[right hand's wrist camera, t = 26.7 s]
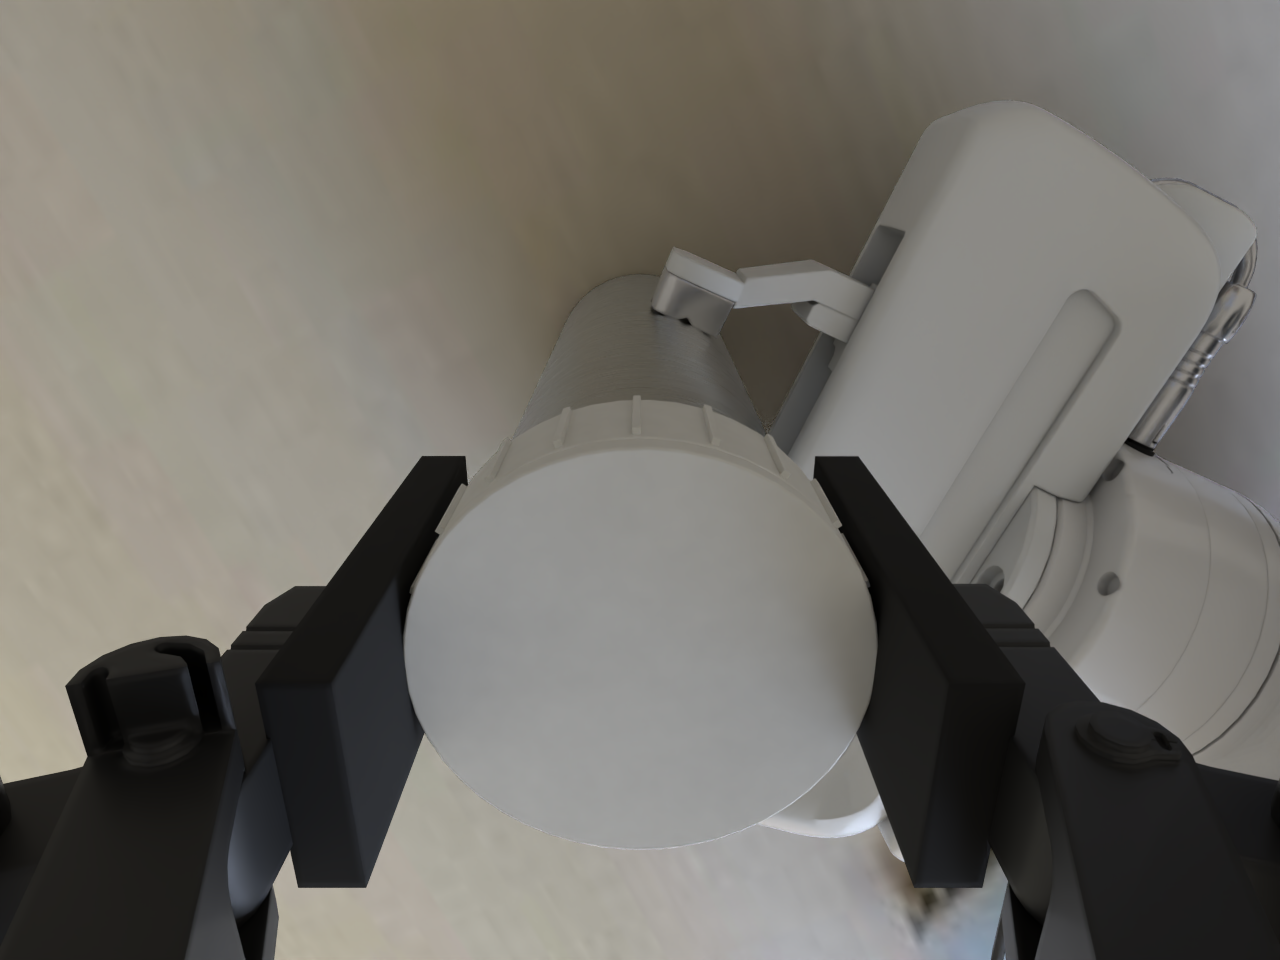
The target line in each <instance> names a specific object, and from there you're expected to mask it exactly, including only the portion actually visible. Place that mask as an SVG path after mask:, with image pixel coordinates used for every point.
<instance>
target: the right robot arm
mask: <svg viewBox="0 0 1280 960" xmlns="http://www.w3.org/2000/svg"><path fill="white" fill-rule="evenodd" d="M813 479H816V480H817V481H818V483H819V484H820V486H821V488H822V490H823V492H824V493H825V495H826V497H827V499H828V501H829V502H830V504H831V506H832V508H833V510H834V511H835V513H836V515H837V517H838V519H839V520H840V522H841V524H842V526H841V527H839V528H838V529H839V531H840V533H843V534H844V536H845V538H846V540H847V542H848V543H849V545H850V547H851V549H852V551H853V553H854V554H855V556H856V558H857V560H858V562H859V564H860V565H861V567H862V569H863V571H864V573H865V575H866V576H867V578H868V580H869V583H870V587H868V591H869V593H870V596H871V599H872V604H873V608H874V613H875V617H876V622H877V633H878V648H877V657H876V665H875V673H874V681H873V688H872V695H871V699H870V703H869V705H868V708H867V710H866V712H865V715H864V717H863V720H862V722H861V725H860V727H859V729H858V730H857V732H856V734H857V737H858V739H859V742H860V745H861V747H862V750H863V753H864V755H865V758H866V761H867V763H868V766H869V769H870V771H871V774H872V777H873V779H874V782H875V785H876V787H877V790H878V793H879V795H880V798H881V801H882V803H883V806H884V809H885V811H886V814H887V816H888V819H889V822H890V824H891V827H892V830H893V832H894V835H895V838H896V840H897V843H898V846H899V848H900V851H901V854H902V856H903V859H904V862H905V864H906V867H907V870H908V872H909V875H910V878H911V880H912V883H913V886H914V888H982V887H983V882H984V877H985V873H986V868H987V863H988V858H989V854H990V849H991V848H992V850H993V852H994V854H995V856H996V858H997V860H998V862H999V864H1000V866H1001V868H1002V870H1003V872H1004V874H1005V876H1006V878H1007V879H1008V884H1007V889H1006V893H1005V898H1004V902H1003V906H1002V911H1001V915H1000V920H999V924H998V928H997V933H996V937H995V941H994V946H993V950H992V957H991V960H1003V959H1004V955H1005V953H1006V960H1280V779H1279V781H1278V780H1273V779H1268V778H1263V777H1258V776H1254V775H1249V774H1244V773H1239V772H1234V771H1229V770H1224V769H1220V768H1215V767H1210V766H1206V765H1203V764H1199V763H1196V762H1195V760H1194V757H1193V755H1192V754H1191V753H1190V752H1189V750H1188V749H1187V748H1186V746H1185V745H1184V744H1183V742H1182V741H1181V740H1180V738H1178V737H1177V736H1176V735H1174V734H1173V733H1172V732H1170V731H1169V730H1168V729H1166V728H1165V727H1164V726H1162V725H1161V724H1159V723H1158V722H1156V721H1154V720H1152V719H1150V718H1148V717H1146V716H1143V715H1141V714H1139V713H1137V712H1135V711H1133V710H1130V709H1127V708H1123V707H1119V706H1115V705H1112V704H1108V703H1104V702H1100V700H1099V699H1098V698H1097V697H1096V696H1095V695H1094V693H1093V692H1092V691H1091V690H1090V689H1089V688H1088V686H1087V685H1086V684H1085V683H1084V682H1083V680H1082V679H1081V678H1080V677H1079V676H1078V675H1077V673H1076V672H1075V671H1074V670H1073V669H1072V668H1071V666H1070V665H1069V664H1068V663H1067V662H1066V660H1065V659H1064V658H1063V657H1062V656H1061V655H1060V653H1059V652H1058V651H1057V650H1056V649H1055V647H1050V642H1049V640H1048V639H1047V638H1046V637H1045V636H1044V635H1043V633H1042V632H1041V631H1040V630H1039V629H1035V624H1034V623H1033V622H1032V620H1031V619H1030V618H1029V617H1028V616H1027V615H1026V613H1025V612H1024V611H1023V610H1022V609H1021V607H1020V606H1019V605H1018V604H1017V603H1016V602H1015V601H1013V600H1011V599H1010V598H1008V597H1007V596H1005V595H1003V594H1002V593H1000V592H998V591H997V590H995V589H994V588H992V587H990V586H989V585H987V584H952V583H951V581H950V580H949V579H948V577H947V576H946V574H945V573H944V572H943V570H942V569H941V568H940V566H939V565H938V564H937V562H936V561H935V560H934V558H933V557H932V555H931V554H930V553H929V551H928V550H927V549H926V547H925V546H924V545H923V543H922V542H921V540H920V539H919V538H918V536H917V535H916V534H915V532H914V531H913V530H912V528H911V527H910V526H909V524H908V523H907V521H906V520H905V519H904V517H903V516H902V515H901V513H900V512H899V511H898V509H897V508H896V507H895V505H894V504H893V502H892V501H891V500H890V498H889V497H888V496H887V494H886V493H885V492H884V490H883V489H882V488H881V486H880V485H879V483H878V482H877V481H876V479H875V478H874V477H873V475H872V474H871V473H870V471H869V470H868V469H867V467H866V466H865V464H864V463H863V462H862V460H861V459H860V458H859V456H815V463H814V475H813ZM461 484H464V485H465V486H468V481H467V470H466V458H465V456H422V457H421V458H420V460H419V461H418V462H417V464H416V465H415V466H414V468H413V469H412V470H411V472H410V473H409V475H408V476H407V477H406V479H405V480H404V481H403V483H402V484H401V485H400V487H399V488H398V489H397V491H396V492H395V494H394V495H393V496H392V498H391V499H390V500H389V502H388V503H387V504H386V506H385V507H384V508H383V510H382V511H381V513H380V514H379V515H378V517H377V518H376V519H375V521H374V522H373V523H372V525H371V526H370V528H369V529H368V530H367V532H366V533H365V534H364V536H363V537H362V538H361V540H360V541H359V542H358V544H357V545H356V547H355V548H354V549H353V551H352V552H351V553H350V555H349V556H348V557H347V559H346V560H345V561H344V563H343V564H342V566H341V567H340V568H339V570H338V571H337V572H336V574H335V575H334V576H333V578H332V579H331V581H330V582H329V583H328V585H327V586H295V587H293V588H292V589H290V590H288V591H287V592H285V593H283V594H282V595H280V596H279V597H277V598H275V599H274V600H272V601H271V602H269V603H267V604H266V605H264V607H263V608H262V609H261V610H260V611H259V613H258V614H257V615H256V616H255V617H254V618H253V620H252V621H251V622H250V623H249V624H248V626H247V627H246V631H242V633H241V634H240V635H239V636H238V637H237V639H236V640H235V641H234V642H233V643H232V645H231V650H226V652H225V653H224V654H223V655H222V656H221V657H220V652H219V648H218V647H216V646H215V645H214V644H212V643H211V642H209V641H208V640H207V639H202V638H196V637H191V636H171V637H159V638H154V639H150V640H146V641H141V642H137V643H133V644H130V645H127V646H125V647H122V648H120V649H117V650H115V651H112V652H110V653H107V654H105V655H103V656H101V657H99V658H98V659H96V660H95V661H93V662H92V663H90V664H88V665H87V666H85V667H84V668H82V669H81V670H79V671H78V672H77V674H76V675H75V676H74V677H73V678H72V679H71V680H70V681H69V682H68V684H67V685H66V686H65V687H66V690H67V693H68V696H69V699H70V703H71V706H72V709H73V712H74V715H75V718H76V721H77V725H78V728H79V731H80V734H81V737H82V740H83V744H84V747H85V750H86V753H87V756H88V757H87V759H86V761H85V763H84V766H83V767H80V768H76V769H72V770H68V771H63V772H58V773H54V774H49V775H44V776H39V777H34V778H29V779H25V780H20V781H15V782H10V783H5V784H3V782H2V780H1V777H0V960H274V956H275V946H276V937H277V928H278V919H279V916H278V909H277V903H276V898H275V893H274V889H273V883H274V881H275V879H276V877H277V875H278V873H279V871H280V869H281V867H282V865H283V863H284V861H285V859H286V857H287V855H288V853H289V851H291V856H292V861H293V866H294V870H295V875H296V880H297V884H298V888H366V887H367V884H368V881H369V879H370V876H371V873H372V871H373V868H374V865H375V863H376V860H377V858H378V855H379V852H380V850H381V847H382V844H383V842H384V839H385V836H386V834H387V831H388V828H389V826H390V823H391V820H392V818H393V815H394V812H395V810H396V807H397V804H398V802H399V799H400V796H401V794H402V791H403V788H404V786H405V783H406V780H407V778H408V775H409V772H410V770H411V767H412V764H413V762H414V759H415V756H416V754H417V751H418V749H419V746H420V743H421V741H422V738H423V735H424V733H425V732H424V730H423V728H422V726H421V724H420V722H419V720H418V718H417V716H416V713H415V710H414V707H413V704H412V701H411V698H410V695H409V691H408V684H407V677H406V669H405V661H404V652H403V632H404V625H405V619H406V612H407V607H408V604H409V601H410V598H411V594H410V593H409V592H410V588H411V585H412V584H413V582H414V580H415V578H416V576H417V574H418V572H419V571H420V569H421V567H422V565H423V563H424V561H425V559H426V558H427V556H428V554H429V552H430V550H431V548H432V546H433V545H434V543H435V541H436V539H438V537H439V535H440V534H438V533H436V532H435V530H436V528H437V527H438V525H439V523H440V521H441V519H442V518H443V516H444V514H445V512H446V510H447V509H448V507H449V505H450V503H451V501H452V499H453V498H454V496H455V494H456V492H457V490H458V489H459V487H460V486H461Z"/></svg>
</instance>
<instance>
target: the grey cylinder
mask: <svg viewBox="0 0 1280 960" xmlns="http://www.w3.org/2000/svg"><path fill="white" fill-rule="evenodd" d="M659 279H660V277H659V276H654V275H645V274H636V275H626V276H622V277H617V278H615V279H612V280H609V281H607V282H605V283H603V284H601V285H599V286H597V287H596V288H594V289H593V290H591V291H590V292H589V293H588V294H586V295H585V296H584V297H583V298H582V299H581V300H580V301H579V303H578V304H577V305H576V306H575V307H574V309H573V310H572V312H571V314H570V315H569V317H568V319H567V321H566V323H565V325H564V328H563V330H562V332H561V334H560V336H559V338H558V341H557V343H556V345H555V347H554V349H553V352H552V354H551V356H550V358H549V360H548V362H547V365H546V367H545V369H544V371H543V373H542V375H541V378H540V380H539V382H538V384H537V386H536V389H535V391H534V393H533V395H532V397H531V399H530V402H529V404H528V406H527V408H526V410H525V412H524V415H523V417H522V419H521V421H520V423H519V426H518V428H517V430H516V432H515V434H514V436H513V439H514V438H516V437H518V436H519V435H521V434H522V433H524V432H526V431H527V430H529V429H531V428H532V427H534V426H536V425H537V424H540V423H542V422H544V421H546V420H549V419H551V418H553V417H556V416H558V415H560V414H561V413H562V410H563V408H566V407H570V408H571V410H576V409H579V408H583V407H586V406H589V405H595V404H601V403H607V402H614V401H623V400H633V396H639V395H640V396H641V400H656V401H666V402H676V403H681V404H686V405H690V406H694V407H699V408H703V406H704V404H705V405H708V406H711V407H712V411H713V412H715V413H718V414H720V415H723V416H726V417H728V418H731V419H733V420H735V421H737V422H739V423H741V424H743V425H745V426H747V427H748V428H750V429H752V430H754V431H756V432H758V433H759V434H760V435H762V436H763V437H765V435H766V432H765V430H764V428H763V426H762V424H761V422H760V419H759V417H758V415H757V413H756V411H755V409H754V406H753V404H752V402H751V400H750V398H749V395H748V393H747V391H746V389H745V387H744V385H743V382H742V380H741V378H740V376H739V374H738V372H737V369H736V367H735V365H734V363H733V361H732V359H731V356H730V354H729V352H728V350H727V348H726V346H725V343H724V341H723V339H722V337H721V335H720V333H719V335H718V337H717V338H716V337H714V336H712V335H709V334H707V333H705V332H702V331H700V330H699V329H697V328H696V327H694V326H692V325H691V323H690V322H689V320H688V318H683V319H675V318H672V317H669V316H666V315H664V314H662V313H660V312H658V311H656V310H655V309H653V308H652V307H651V298H652V296H653V293H654V291H655V289H656V286H657V284H658V281H659ZM513 439H512V440H513Z"/></svg>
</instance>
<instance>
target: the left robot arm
mask: <svg viewBox="0 0 1280 960" xmlns="http://www.w3.org/2000/svg"><path fill="white" fill-rule="evenodd" d="M1256 235H1257V228H1256V226H1255V224H1254V223H1253V221H1252V220H1251V219H1250V218H1249V217H1248V215H1246V214H1245V213H1244V212H1243V211H1241V210H1240V209H1239V208H1238V207H1237V206H1235V205H1234V204H1232V203H1230V202H1228V201H1226V200H1224V199H1222V198H1220V197H1218V196H1216V195H1214V194H1212V193H1210V192H1209V191H1207V190H1205V189H1203V188H1201V187H1199V186H1197V185H1195V184H1193V183H1191V182H1189V181H1185V180H1182V179H1175V178H1159V179H1152V180H1149V179H1148V178H1147V177H1145V176H1144V175H1143V174H1141V173H1140V172H1139V171H1138V170H1136V169H1135V168H1134V167H1132V166H1131V165H1130V164H1128V163H1127V162H1126V161H1124V160H1123V159H1122V158H1120V157H1119V156H1117V155H1116V154H1115V153H1113V152H1112V151H1110V150H1109V149H1107V148H1106V147H1104V146H1103V145H1102V144H1100V143H1099V142H1097V141H1096V140H1094V139H1093V138H1091V137H1090V136H1088V135H1087V134H1085V133H1084V132H1082V131H1080V130H1079V129H1077V128H1076V127H1074V126H1072V125H1071V124H1069V123H1067V122H1066V121H1064V120H1062V119H1061V118H1059V117H1057V116H1056V115H1054V114H1052V113H1050V112H1048V111H1046V110H1045V109H1042V108H1040V107H1038V106H1036V105H1034V104H1031V103H1027V102H1021V101H1009V100H1002V101H992V102H987V103H982V104H978V105H975V106H972V107H968V108H965V109H963V110H960V111H957V112H954V113H952V114H949V115H947V116H944V117H941V118H939V119H937V120H935V121H934V122H932V123H931V124H930V125H929V126H928V127H927V128H926V129H925V131H924V132H923V134H922V136H921V138H920V140H919V141H918V143H917V145H916V147H915V149H914V151H913V153H912V155H911V157H910V159H909V161H908V163H907V165H906V167H905V169H904V170H903V172H902V174H901V176H900V178H899V180H898V182H897V184H896V186H895V188H894V190H893V192H892V194H891V196H890V198H889V200H888V201H887V203H886V205H885V207H884V209H883V211H882V213H881V215H880V217H879V219H878V221H877V223H876V225H875V227H874V229H873V231H872V232H871V234H870V236H869V238H868V240H867V242H866V244H865V246H864V248H863V250H862V252H861V254H860V256H859V258H858V260H857V262H856V263H855V265H854V267H853V269H852V271H851V273H850V275H849V276H848V275H846V274H843V273H841V272H839V271H837V270H835V269H832V268H830V267H828V266H826V265H823V264H821V263H819V262H817V261H815V260H812V259H811V260H803V261H795V262H787V263H780V264H772V265H764V266H756V267H748V268H740V269H738V270H737V272H736V273H734V272H732V271H730V270H728V269H725V268H723V267H721V266H719V265H717V264H714V263H712V262H710V261H708V260H705V259H703V258H701V257H699V256H697V255H694V254H692V253H690V252H688V251H685V250H682V249H679V248H676V247H673V248H672V250H671V253H670V255H669V258H668V260H667V262H666V265H665V266H664V269H663V271H662V274H661V276H660V279H659V281H658V284H657V286H656V289H655V291H654V293H653V296H652V298H651V307H652V308H653V309H655V310H656V311H658V312H660V313H662V314H664V315H666V316H669V317H672V318H675V319H683V318H688V320H689V322H690V323H691V325H692V326H694V327H696V328H697V329H699V330H700V331H702V332H705V333H707V334H709V335H712V336H714V337H716V338H717V337H718V335H719V333H720V331H721V329H722V327H723V325H724V323H725V321H726V319H727V317H728V315H729V313H730V311H731V309H732V307H733V308H734V309H735V308H745V307H755V306H764V305H774V304H784V303H792V304H791V306H792V310H793V311H794V312H795V313H796V314H797V315H798V316H799V317H800V318H801V319H802V320H803V321H804V322H805V323H806V324H807V325H808V326H810V327H813V328H815V329H817V330H819V331H820V333H819V335H818V337H817V339H816V341H815V343H814V345H813V347H812V349H811V351H810V353H809V354H808V356H807V358H806V360H805V362H804V364H803V366H802V368H801V370H800V372H799V374H798V376H797V378H796V380H795V382H794V384H793V385H792V387H791V389H790V391H789V393H788V395H787V397H786V399H785V401H784V403H783V405H782V407H781V409H780V411H779V413H778V415H777V416H776V418H775V420H774V422H773V424H772V426H771V428H770V430H769V432H768V434H769V435H771V436H772V437H773V438H774V440H775V442H776V444H777V446H778V447H779V448H780V449H781V450H782V451H783V452H784V453H785V454H786V455H787V456H788V457H789V458H790V459H791V460H792V461H794V462H795V463H796V464H797V465H798V466H799V468H800V469H801V470H802V471H803V473H804V474H805V475H806V476H807V478H808V479H809V480H810V481H812V480H813V475H814V463H815V456H859V458H860V459H861V460H862V462H863V463H864V464H865V466H866V467H867V469H868V470H869V471H870V473H871V474H872V475H873V477H874V478H875V479H876V481H877V482H878V483H879V485H880V486H881V488H882V489H883V490H884V492H885V493H886V494H887V496H888V497H889V498H890V500H891V501H892V502H893V504H894V505H895V507H896V508H897V509H898V511H899V512H900V513H901V515H902V516H903V517H904V519H905V520H906V521H907V523H908V524H909V526H910V527H911V528H912V530H913V531H914V532H915V534H916V535H917V536H918V538H919V539H920V540H921V542H922V543H923V545H924V546H925V547H926V549H927V550H928V551H929V553H930V554H931V555H932V557H933V558H934V560H935V561H936V562H937V564H938V565H939V566H940V568H941V569H942V570H943V572H944V573H945V574H946V576H947V577H948V579H949V580H950V581H951V583H952V584H987V585H989V586H990V587H992V588H994V589H995V590H997V591H998V592H1000V593H1002V594H1003V595H1005V596H1007V597H1008V598H1010V599H1011V600H1013V601H1015V602H1016V603H1017V604H1018V605H1019V606H1020V607H1021V609H1022V610H1023V611H1024V612H1025V613H1026V615H1027V616H1028V617H1029V618H1030V619H1031V620H1032V622H1033V623H1034V624H1035V629H1039V630H1040V631H1041V632H1042V633H1043V635H1044V636H1045V637H1046V638H1047V639H1048V640H1049V642H1050V647H1055V649H1056V650H1057V651H1058V652H1059V653H1060V655H1061V656H1062V657H1063V658H1064V659H1065V660H1066V662H1067V663H1068V664H1069V665H1070V666H1071V668H1072V669H1073V670H1074V671H1075V672H1076V673H1077V675H1078V676H1079V677H1080V678H1081V679H1082V680H1083V682H1084V683H1085V684H1086V685H1087V686H1088V688H1089V689H1090V690H1091V691H1092V692H1093V693H1094V695H1095V696H1096V697H1097V698H1098V699H1099V700H1100V702H1104V703H1108V704H1112V705H1115V706H1119V707H1123V708H1127V709H1130V710H1133V711H1135V712H1137V713H1139V714H1141V715H1143V716H1146V717H1148V718H1150V719H1152V720H1154V721H1156V722H1158V723H1159V724H1161V725H1162V726H1164V727H1165V728H1166V729H1168V730H1169V731H1170V732H1172V733H1173V734H1174V735H1176V736H1177V737H1178V738H1180V740H1181V741H1182V742H1183V744H1184V745H1185V746H1186V748H1187V749H1188V750H1189V752H1190V753H1191V754H1192V755H1193V757H1194V760H1195V762H1196V763H1199V764H1203V765H1206V766H1210V767H1215V768H1220V769H1224V770H1229V771H1234V772H1239V773H1244V774H1249V775H1254V776H1258V777H1263V778H1268V779H1273V780H1278V781H1279V779H1280V523H1279V522H1278V521H1277V520H1276V519H1275V518H1274V517H1272V516H1271V515H1270V514H1269V513H1268V512H1267V511H1266V510H1264V509H1263V508H1262V507H1261V506H1260V505H1258V504H1256V503H1255V502H1253V501H1252V500H1250V499H1248V498H1247V497H1245V496H1244V495H1242V494H1240V493H1239V492H1236V491H1234V490H1232V489H1230V488H1227V487H1225V486H1223V485H1220V484H1218V483H1216V482H1214V481H1212V480H1210V479H1207V478H1205V477H1203V476H1201V475H1199V474H1196V473H1194V472H1192V471H1190V470H1187V469H1185V468H1183V467H1181V466H1179V465H1176V464H1174V463H1172V462H1170V461H1168V460H1165V459H1163V458H1161V457H1159V456H1157V455H1155V453H1154V452H1152V451H1153V450H1154V449H1155V447H1156V446H1157V444H1158V443H1159V442H1160V440H1161V439H1162V437H1163V436H1164V435H1165V433H1166V432H1167V430H1168V429H1169V427H1170V426H1171V425H1172V423H1173V422H1174V420H1175V419H1176V418H1177V416H1178V415H1179V413H1180V412H1181V410H1182V409H1183V408H1184V406H1185V405H1186V403H1187V402H1188V400H1189V398H1190V397H1191V395H1192V394H1193V392H1194V390H1193V388H1196V386H1197V384H1198V382H1199V380H1198V378H1201V377H1202V375H1203V373H1204V372H1205V370H1204V368H1207V367H1208V365H1209V364H1210V362H1211V358H1214V357H1215V355H1216V354H1217V352H1218V351H1219V350H1220V348H1221V347H1222V345H1223V344H1224V343H1225V344H1227V343H1228V342H1229V341H1230V340H1231V339H1232V338H1233V337H1234V335H1235V334H1236V333H1237V332H1238V330H1239V329H1240V327H1241V326H1242V324H1243V323H1244V321H1245V320H1246V318H1247V316H1248V314H1249V312H1250V310H1251V308H1252V306H1253V304H1254V302H1255V299H1256V293H1255V292H1254V291H1252V290H1250V289H1248V288H1247V287H1248V285H1249V283H1250V281H1251V278H1252V276H1253V273H1254V270H1255V266H1256V260H1257V240H1256ZM1233 271H1234V272H1233ZM1232 273H1233V275H1232V277H1231V280H1230V281H1227V280H1228V279H1229V277H1230V276H1231V274H1232ZM758 824H759V825H762V826H766V827H770V828H774V829H778V830H782V831H786V832H790V833H795V834H799V835H805V836H811V837H820V838H838V837H846V836H851V835H855V834H858V833H861V832H864V831H866V830H868V829H870V828H872V827H874V826H875V825H877V826H878V828H879V830H880V832H881V834H882V836H883V838H884V840H885V842H886V844H887V846H888V847H889V849H890V851H891V853H892V854H893V855H894V856H895V857H896V858H898V859H899V860H901V861H903V862H904V859H903V856H902V854H901V851H900V848H899V846H898V843H897V840H896V838H895V835H894V832H893V830H892V827H891V824H890V822H889V819H888V816H887V814H886V811H885V809H884V806H883V803H882V801H881V798H880V795H879V793H878V790H877V787H876V785H875V782H874V779H873V777H872V774H871V771H870V769H869V766H868V763H867V761H866V758H865V755H864V753H863V750H862V747H861V745H860V742H859V739H858V737H857V734H855V736H854V737H853V739H852V741H851V742H850V744H849V746H848V747H847V749H846V751H845V752H844V753H843V754H842V756H841V757H840V758H839V759H838V761H837V762H836V763H835V764H834V766H833V767H832V768H831V770H830V771H829V772H828V773H827V774H826V775H825V776H824V777H823V778H822V779H821V780H820V781H819V782H818V783H817V784H816V785H815V786H813V787H812V788H811V789H810V790H809V791H808V792H806V793H805V794H804V795H803V796H801V797H800V798H799V799H797V800H796V801H795V802H793V803H792V804H791V805H790V806H788V807H786V808H785V809H783V810H781V811H780V812H778V813H776V814H775V815H773V816H771V817H770V818H768V819H766V820H764V821H762V822H760V823H758Z"/></svg>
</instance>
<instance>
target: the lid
mask: <svg viewBox="0 0 1280 960" xmlns="http://www.w3.org/2000/svg"><path fill="white" fill-rule="evenodd" d="M841 526H842V524H841V522H840V520H839V519H838V517H837V515H836V513H835V511H834V510H833V508H832V506H831V504H830V502H829V501H828V499H827V497H826V495H825V493H824V492H823V490H822V488H821V486H820V484H819V483H818V481H817V480H816V479H813V480H812V481H810V480H809V479H808V478H807V476H806V475H805V474H804V473H803V471H802V470H801V469H800V468H799V466H798V465H797V464H796V463H795V462H794V461H792V460H791V459H790V458H789V457H788V456H787V455H786V454H785V453H784V452H783V451H782V450H781V449H780V448H779V447H778V446H777V444H776V442H775V440H774V438H773V437H772V436H771V435H769V434H768V433H767V434H766V435H765V437H763V436H762V435H760V434H759V433H758V432H756V431H754V430H752V429H750V428H748V427H747V426H745V425H743V424H741V423H739V422H737V421H735V420H733V419H731V418H728V417H726V416H723V415H720V414H718V413H715V412H713V411H712V407H711V406H708V405H705V404H704V406H703V408H699V407H694V406H690V405H686V404H681V403H676V402H666V401H656V400H641V396H640V395H639V396H633V400H623V401H614V402H607V403H601V404H595V405H589V406H586V407H583V408H579V409H576V410H571V408H570V407H566V408H563V410H562V413H561V414H560V415H558V416H556V417H553V418H551V419H549V420H546V421H544V422H542V423H540V424H537V425H536V426H534V427H532V428H531V429H529V430H527V431H526V432H524V433H522V434H521V435H519V436H518V437H516V438H514V439H513V440H512V441H511V440H510V439H509V438H508V437H507V438H506V439H505V440H503V441H502V443H501V445H500V447H499V449H498V451H497V453H496V454H494V455H493V456H492V457H491V458H490V459H489V460H488V462H487V463H486V464H485V465H484V466H483V467H482V468H481V469H480V470H479V471H478V472H477V473H476V474H475V476H474V477H473V479H472V480H471V482H470V483H469V484H468V486H465V485H464V484H461V486H460V487H459V489H458V490H457V492H456V494H455V496H454V498H453V499H452V501H451V503H450V505H449V507H448V509H447V510H446V512H445V514H444V516H443V518H442V519H441V521H440V523H439V525H438V527H437V528H436V530H435V532H436V533H438V534H440V535H439V537H438V539H436V541H435V543H434V545H433V546H432V548H431V550H430V552H429V554H428V556H427V558H426V559H425V561H424V563H423V565H422V567H421V569H420V571H419V572H418V574H417V576H416V578H415V580H414V582H413V584H412V585H411V588H410V592H409V593H410V594H411V598H410V601H409V604H408V607H407V612H406V619H405V625H404V632H403V652H404V661H405V669H406V677H407V684H408V691H409V695H410V698H411V701H412V704H413V707H414V710H415V713H416V716H417V718H418V720H419V722H420V724H421V726H422V728H423V730H424V732H425V734H426V736H427V738H428V739H429V741H430V742H431V744H432V745H433V747H434V748H435V750H436V751H437V753H438V754H439V756H440V757H441V759H442V760H443V761H444V762H445V763H446V764H447V766H448V767H449V768H450V769H451V770H452V771H453V772H454V774H455V775H456V776H457V777H458V778H459V779H460V780H461V781H462V782H463V783H464V784H466V785H467V786H468V787H469V788H470V789H471V790H472V791H474V792H475V793H476V794H477V795H478V796H479V797H481V798H482V799H483V800H485V801H486V802H488V803H489V804H491V805H492V806H494V807H495V808H496V809H498V810H499V811H501V812H502V813H504V814H506V815H508V816H510V817H512V818H514V819H516V820H517V821H519V822H521V823H523V824H525V825H527V826H530V827H532V828H535V829H537V830H539V831H542V832H544V833H547V834H549V835H552V836H556V837H559V838H563V839H566V840H570V841H573V842H577V843H582V844H587V845H593V846H598V847H604V848H615V849H628V850H649V849H667V848H675V847H683V846H690V845H694V844H699V843H703V842H708V841H712V840H716V839H719V838H722V837H725V836H728V835H731V834H734V833H737V832H740V831H742V830H745V829H747V828H749V827H751V826H753V825H755V824H758V823H760V822H762V821H764V820H766V819H768V818H770V817H771V816H773V815H775V814H776V813H778V812H780V811H781V810H783V809H785V808H786V807H788V806H790V805H791V804H792V803H793V802H795V801H796V800H797V799H799V798H800V797H801V796H803V795H804V794H805V793H806V792H808V791H809V790H810V789H811V788H812V787H813V786H815V785H816V784H817V783H818V782H819V781H820V780H821V779H822V778H823V777H824V776H825V775H826V774H827V773H828V772H829V771H830V770H831V768H832V767H833V766H834V764H835V763H836V762H837V761H838V759H839V758H840V757H841V756H842V754H843V753H844V752H845V751H846V749H847V747H848V746H849V744H850V742H851V741H852V739H853V737H854V736H855V734H856V732H857V730H858V729H859V727H860V725H861V722H862V720H863V717H864V715H865V712H866V710H867V708H868V705H869V703H870V699H871V695H872V688H873V681H874V673H875V665H876V657H877V648H878V633H877V622H876V617H875V613H874V608H873V604H872V599H871V596H870V593H869V591H868V587H870V583H869V580H868V578H867V576H866V575H865V573H864V571H863V569H862V567H861V565H860V564H859V562H858V560H857V558H856V556H855V554H854V553H853V551H852V549H851V547H850V545H849V543H848V542H847V540H846V538H845V536H844V534H843V533H840V531H839V529H838V528H839V527H841Z"/></svg>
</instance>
